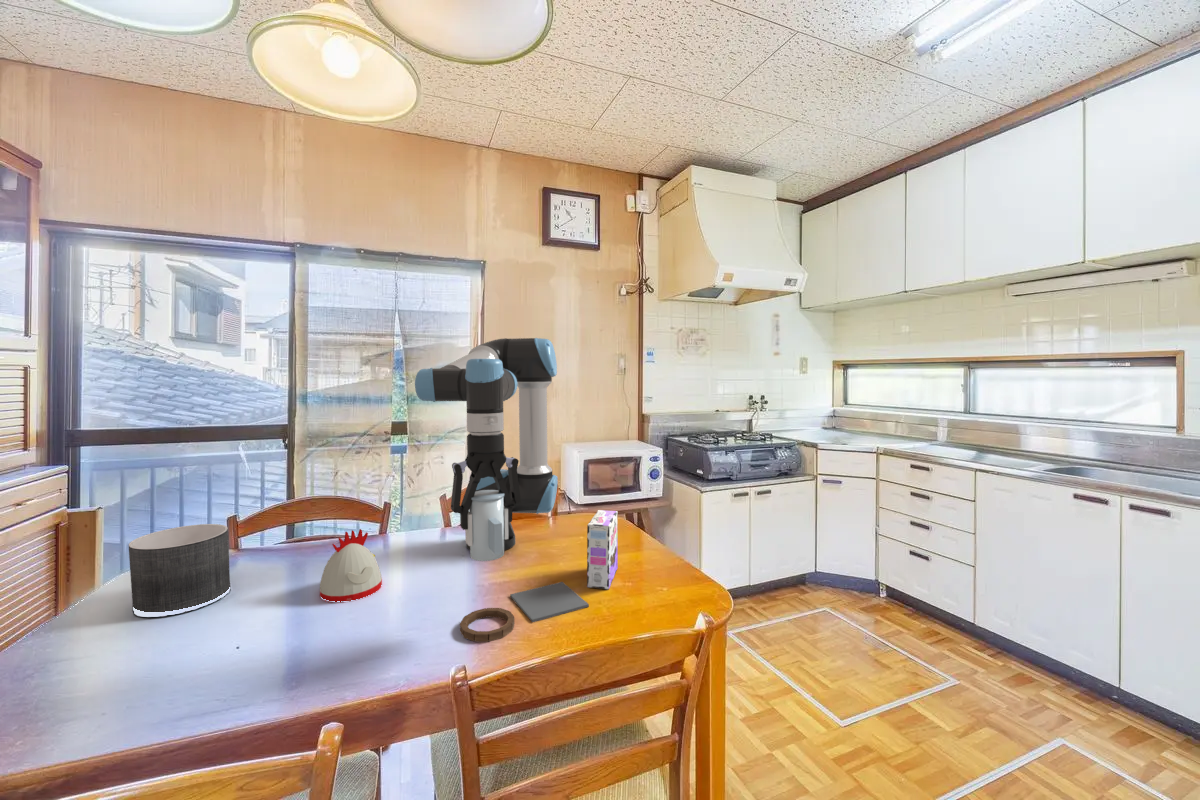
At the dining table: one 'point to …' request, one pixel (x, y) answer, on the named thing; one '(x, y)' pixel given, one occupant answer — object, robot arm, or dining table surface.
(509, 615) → the brown segmented ring
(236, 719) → the dining table surface
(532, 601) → the mat
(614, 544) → the candy box
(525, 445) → the robot arm
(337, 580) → the white chicken figure
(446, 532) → the dining table surface
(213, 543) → the planter
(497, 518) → the white cylindrical canister
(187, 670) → the dining table surface
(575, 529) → the dining table surface
